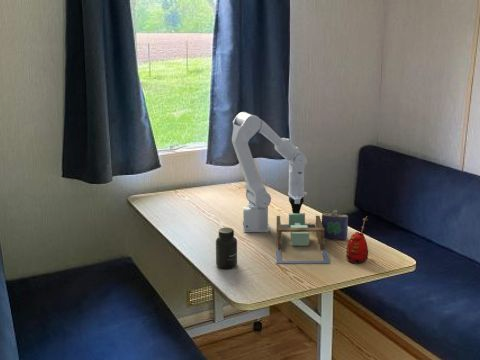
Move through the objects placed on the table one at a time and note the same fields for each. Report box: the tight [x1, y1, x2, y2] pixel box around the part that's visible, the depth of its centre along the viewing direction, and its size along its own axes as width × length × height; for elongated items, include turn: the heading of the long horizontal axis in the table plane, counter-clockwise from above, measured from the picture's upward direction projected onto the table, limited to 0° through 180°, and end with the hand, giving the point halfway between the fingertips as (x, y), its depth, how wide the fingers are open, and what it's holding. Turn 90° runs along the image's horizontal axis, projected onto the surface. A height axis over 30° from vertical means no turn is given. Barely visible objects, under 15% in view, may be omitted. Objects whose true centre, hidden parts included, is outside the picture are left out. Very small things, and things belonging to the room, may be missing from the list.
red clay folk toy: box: [345, 216, 369, 264], centre depth 171 cm, size 8×7×15 cm
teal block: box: [288, 212, 310, 247], centre depth 193 cm, size 6×20×5 cm, turn 178°
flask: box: [321, 209, 349, 241], centre depth 189 cm, size 9×3×11 cm, turn 74°
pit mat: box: [281, 223, 316, 228], centre depth 201 cm, size 14×6×1 cm, turn 88°
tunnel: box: [276, 215, 325, 251], centre depth 188 cm, size 16×16×7 cm
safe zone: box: [275, 249, 331, 265], centre depth 176 cm, size 17×10×1 cm, turn 88°
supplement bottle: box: [215, 227, 238, 270], centre depth 169 cm, size 7×7×12 cm
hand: (295, 215), depth 207 cm, fingers closed
